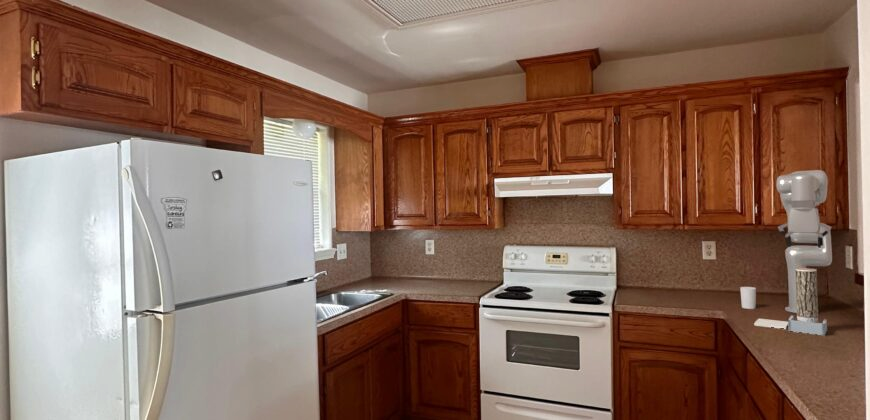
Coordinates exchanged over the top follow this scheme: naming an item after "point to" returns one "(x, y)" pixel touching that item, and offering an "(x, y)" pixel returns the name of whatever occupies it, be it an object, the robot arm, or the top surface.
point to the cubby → (807, 326)
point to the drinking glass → (748, 297)
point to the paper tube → (806, 295)
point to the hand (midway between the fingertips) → (804, 247)
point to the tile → (771, 323)
